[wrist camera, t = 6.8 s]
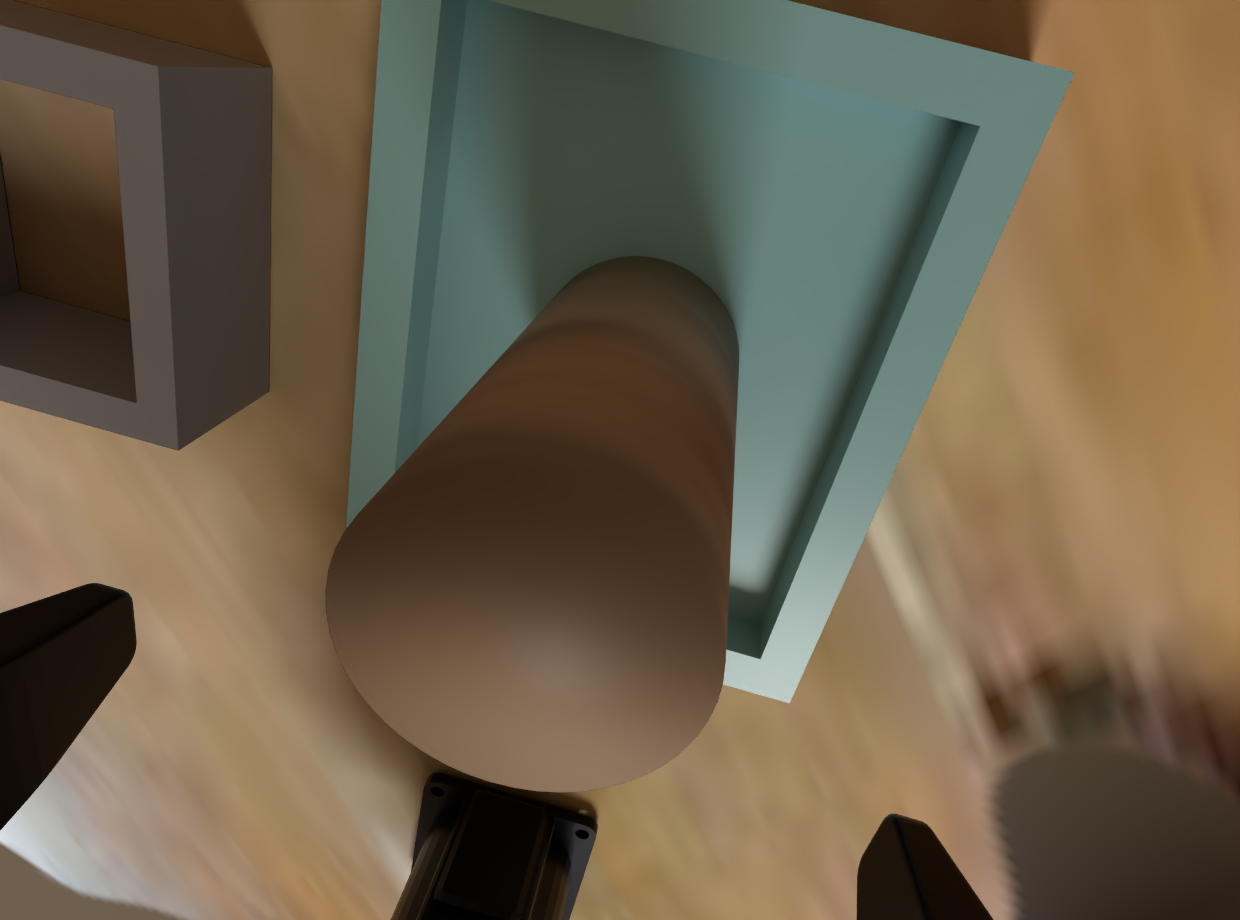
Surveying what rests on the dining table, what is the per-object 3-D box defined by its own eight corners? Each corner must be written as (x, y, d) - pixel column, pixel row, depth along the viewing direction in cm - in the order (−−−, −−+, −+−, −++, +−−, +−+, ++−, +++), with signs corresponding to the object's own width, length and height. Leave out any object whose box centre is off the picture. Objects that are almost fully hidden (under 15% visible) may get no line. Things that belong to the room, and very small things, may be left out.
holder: (269, 391, 22) (178, 450, 19) (-8, 314, 23) (-148, 358, 19) (271, 68, 18) (158, 66, 15) (-63, -20, 19) (-253, -42, 15)
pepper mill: (707, 470, 20) (666, 832, 11) (524, 420, 20) (317, 730, 11) (766, 287, 18) (783, 534, 8) (559, 232, 18) (336, 409, 8)
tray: (786, 644, 24) (789, 703, 21) (380, 529, 24) (342, 575, 22) (1031, 72, 16) (1074, 72, 14) (436, -78, 17) (388, -101, 14)
